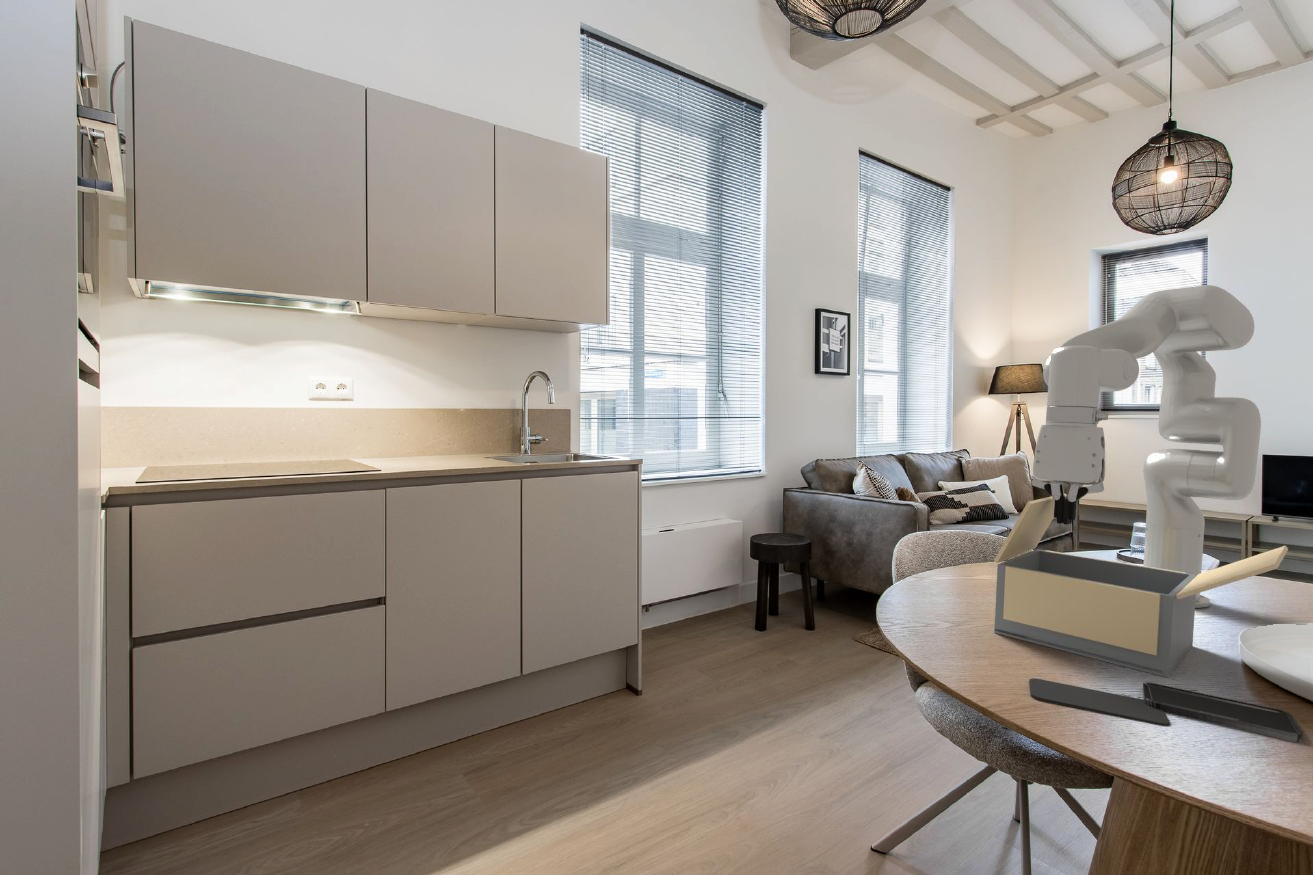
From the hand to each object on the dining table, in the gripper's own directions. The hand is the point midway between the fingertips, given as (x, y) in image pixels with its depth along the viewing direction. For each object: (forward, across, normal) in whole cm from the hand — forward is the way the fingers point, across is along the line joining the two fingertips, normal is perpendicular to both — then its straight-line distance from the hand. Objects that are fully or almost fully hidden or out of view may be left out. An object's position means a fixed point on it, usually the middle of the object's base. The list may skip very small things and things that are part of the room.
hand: (1064, 523), depth 112 cm
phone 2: (+20, -23, +19) cm, 36 cm away
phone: (+21, -11, +27) cm, 36 cm away
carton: (+19, -5, -1) cm, 20 cm away
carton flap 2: (+4, -22, 0) cm, 22 cm away
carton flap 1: (+2, +5, -1) cm, 5 cm away
